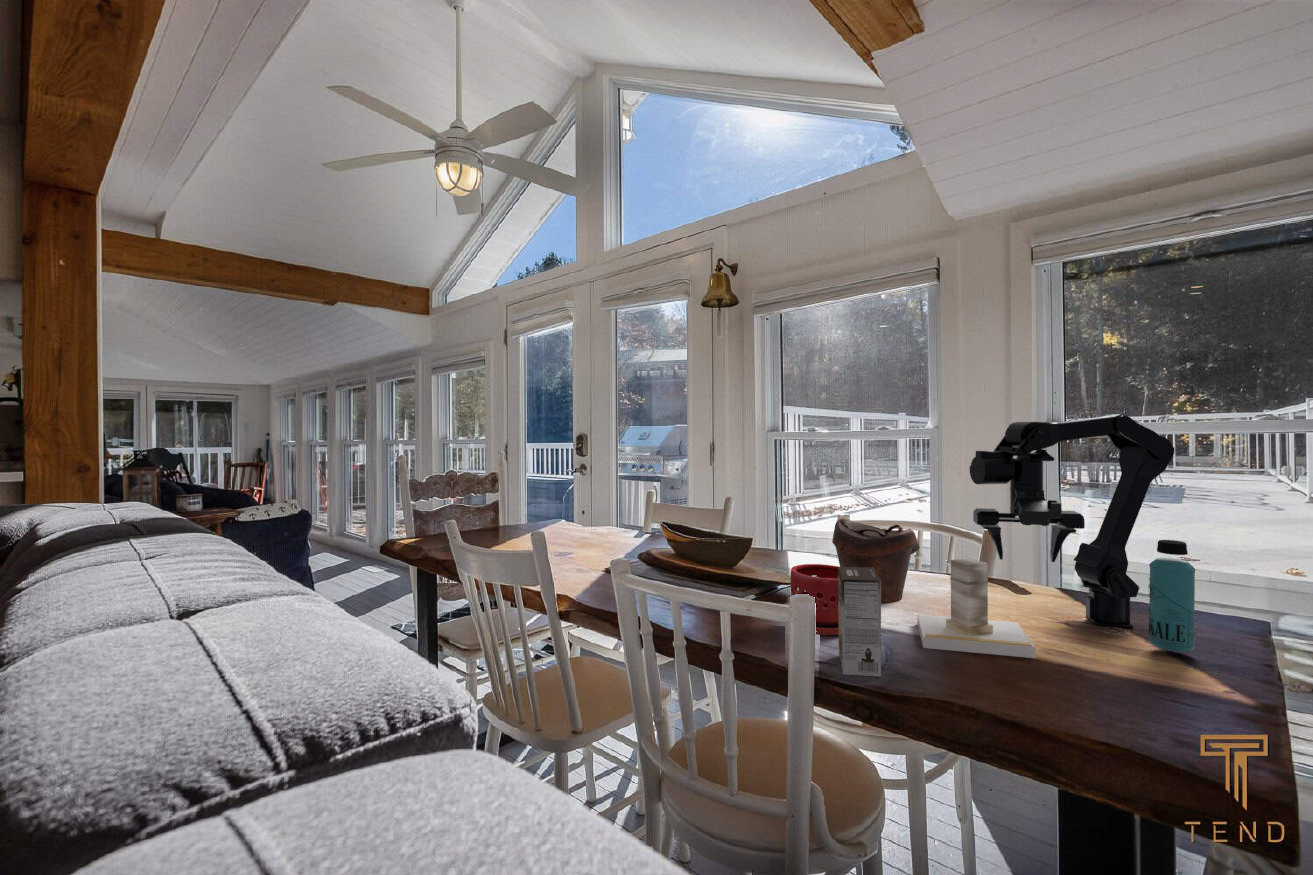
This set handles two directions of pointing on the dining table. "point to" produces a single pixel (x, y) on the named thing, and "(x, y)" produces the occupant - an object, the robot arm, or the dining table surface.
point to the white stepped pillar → (969, 597)
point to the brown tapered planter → (877, 553)
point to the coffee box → (859, 621)
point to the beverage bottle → (1172, 599)
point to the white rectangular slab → (975, 638)
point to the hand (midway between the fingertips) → (1026, 560)
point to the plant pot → (819, 593)
